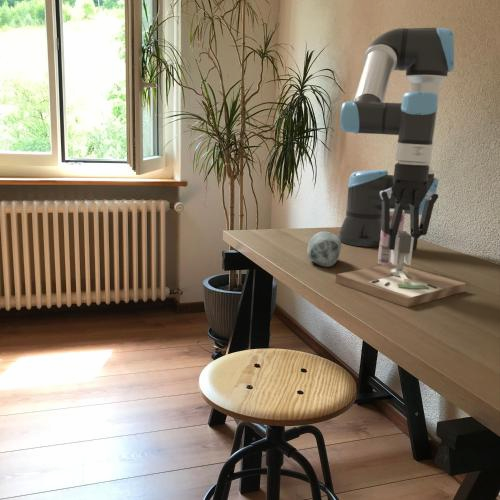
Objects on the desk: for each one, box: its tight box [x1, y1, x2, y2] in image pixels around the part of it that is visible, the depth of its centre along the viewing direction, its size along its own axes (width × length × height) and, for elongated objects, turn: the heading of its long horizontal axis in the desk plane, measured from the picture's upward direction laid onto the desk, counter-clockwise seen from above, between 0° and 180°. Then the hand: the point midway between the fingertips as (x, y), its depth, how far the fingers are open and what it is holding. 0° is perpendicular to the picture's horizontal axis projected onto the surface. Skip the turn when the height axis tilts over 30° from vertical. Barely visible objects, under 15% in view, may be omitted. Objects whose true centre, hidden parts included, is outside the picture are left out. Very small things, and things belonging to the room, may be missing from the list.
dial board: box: [335, 264, 467, 308], centre depth 121 cm, size 22×20×2 cm
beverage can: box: [377, 209, 406, 266], centre depth 140 cm, size 6×6×15 cm
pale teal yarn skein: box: [306, 231, 342, 268], centre depth 140 cm, size 14×10×10 cm
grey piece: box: [390, 230, 412, 282], centre depth 120 cm, size 11×4×10 cm, turn 175°
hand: (400, 263), depth 123 cm, fingers closed on grey piece, 3 cm apart
